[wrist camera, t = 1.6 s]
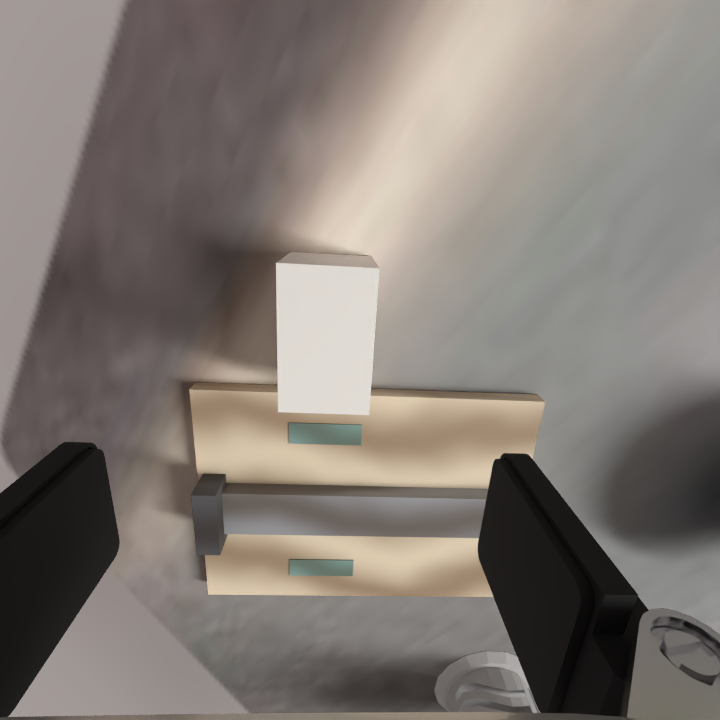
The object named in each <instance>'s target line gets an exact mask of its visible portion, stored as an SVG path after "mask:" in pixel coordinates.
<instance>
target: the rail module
mask: <svg viewBox="0 0 720 720" xmlns="http://www.w3.org/2000/svg"><path fill="white" fill-rule="evenodd" d="M378 282H379V267H378V265H377V264H376V262H375V261H374V259H373V258H372V256H360V255H341V254H322V253H303V252H290V253H289V254H287V255H286V256H285V257H283V258H282V259H281V260H279V261H278V262H276V303H277V375H278V412H286V413H317V414H348V415H369V411H370V396H371V382H372V368H373V353H374V339H375V325H376V311H377V296H378Z"/></svg>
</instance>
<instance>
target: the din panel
mask: <svg viewBox="0 0 720 720" xmlns="http://www.w3.org/2000/svg"><path fill="white" fill-rule="evenodd" d="M189 392H190V403H191V413H192V424H193V435H194V445H195V456H196V467H197V478H198V483H197V485H196V487H195V489H194V491H193V493H192V494H191V501H192V511H193V521H194V531H195V541H196V550H197V555H205V563H206V574H207V585H208V594H210V595H331V596H452V597H494V596H493V594H492V591H491V589H490V586H489V584H488V581H487V579H486V576H485V574H484V571H483V569H482V566H481V564H480V561H479V557H478V540H479V535H480V530H481V525H482V519H483V514H484V509H485V503H486V498H487V493H488V487H489V482H490V477H491V472H492V466H493V462H494V460H495V459H500V457H501V455H502V454H503V453H523V454H528V455H529V456H530V457H531V458H533V454H534V449H535V445H536V441H537V436H538V432H539V428H540V423H541V419H542V414H543V410H544V406H545V401H544V400H543V399H542V398H541V397H540V396H539V395H536V394H508V393H480V392H452V391H424V390H396V389H371V396H370V411H369V415H348V414H317V413H286V412H278V385H256V384H228V383H200V382H195V384H194V385H193V386H192V387H191V388H190V389H189Z"/></svg>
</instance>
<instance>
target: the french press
mask: <svg viewBox="0 0 720 720" xmlns="http://www.w3.org/2000/svg"><path fill="white" fill-rule="evenodd" d="M434 692H435V695H436V698H437V701H438V703H439V704H440V705H441V706H442V707H443V708H444V709H445V710H447V711H448V712H510V713H539V711H538V709H537V706H536V704H535V701H534V699H533V696H532V694H531V690H530V687H529V685H528V682H527V680H526V677H525V675H524V672H523V670H522V667H521V665H520V662H519V660H518V657H517V656H514V655H512V654H509V653H507V652H494V651H484V652H480V653H475V654H471V655H466V656H464V657H462V658H461V659H459V660H457V661H455V662H453V663H451V664H450V665H448V666H447V668H446V669H445V670H444V671H443V672H442V673H441V674H440V675H439V676H438V678H437V682H436V685H435V689H434Z"/></svg>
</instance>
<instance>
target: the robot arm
mask: <svg viewBox="0 0 720 720" xmlns="http://www.w3.org/2000/svg"><path fill="white" fill-rule="evenodd" d="M118 549H119V535H118V529H117V524H116V518H115V513H114V507H113V501H112V496H111V490H110V485H109V479H108V474H107V468H106V462H105V457H104V453H103V451H102V450H100V449H97V447H96V445H95V444H93V443H84V442H64V443H62V444H61V445H59V446H58V447H57V448H56V449H54V450H53V451H52V452H51V453H49V454H48V455H47V456H46V457H44V458H43V459H42V460H41V461H40V462H38V463H37V464H36V465H35V466H33V467H32V468H31V469H30V470H28V471H27V472H26V473H25V474H24V475H22V476H21V477H20V478H19V479H17V480H16V481H15V482H14V483H12V484H11V485H10V486H9V487H8V488H6V489H5V490H4V491H3V492H2V493H0V720H720V635H719V634H718V633H717V632H716V631H714V630H713V629H712V628H710V627H709V626H707V625H705V624H704V623H702V622H700V621H698V620H697V619H695V618H693V617H691V616H688V615H686V614H683V613H681V612H678V611H674V610H669V609H664V608H659V609H651V610H648V609H647V608H646V606H645V605H644V604H643V602H642V601H641V600H640V599H639V597H638V594H637V593H636V592H635V590H634V589H633V588H632V587H631V585H630V584H629V583H628V581H627V580H626V579H625V578H624V576H623V575H622V574H621V572H620V571H619V570H618V569H617V567H616V566H615V565H614V563H613V562H612V561H611V560H610V558H609V557H608V556H607V554H606V553H605V552H604V551H603V549H602V548H601V547H600V545H599V544H598V543H597V542H596V540H595V539H594V538H593V536H592V535H591V534H590V533H589V531H588V530H587V529H586V527H585V526H584V525H583V524H582V522H581V521H580V520H579V518H578V517H577V516H576V515H575V513H574V512H573V511H572V509H571V508H570V507H569V506H568V504H567V503H566V502H565V500H564V499H563V498H562V497H561V495H560V494H559V493H558V491H557V490H556V489H555V488H554V486H553V485H552V484H551V482H550V481H549V480H548V479H547V477H546V476H545V475H544V473H543V472H542V471H541V470H540V468H539V467H538V466H537V464H536V463H535V462H534V461H533V459H532V458H531V457H530V456H529V455H528V454H523V453H503V454H502V455H501V457H500V459H495V460H494V462H493V466H492V472H491V477H490V482H489V487H488V493H487V498H486V503H485V509H484V514H483V519H482V525H481V530H480V535H479V540H478V557H479V561H480V564H481V566H482V569H483V571H484V574H485V576H486V579H487V581H488V584H489V586H490V589H491V591H492V594H493V596H494V599H495V602H496V604H497V607H498V609H499V612H500V614H501V617H502V619H503V622H504V624H505V627H506V629H507V632H508V634H509V637H510V639H511V642H512V644H513V647H514V650H515V652H516V655H517V657H518V660H519V662H520V665H521V667H522V670H523V672H524V675H525V677H526V680H527V682H528V685H529V687H530V690H531V692H532V695H533V698H534V700H535V703H536V705H537V707H538V709H539V711H540V712H541V713H510V712H385V713H256V714H179V715H178V714H174V715H173V714H170V715H103V716H49V717H48V716H47V717H46V716H45V717H8V716H9V715H10V714H11V713H12V711H13V710H14V709H15V707H16V706H17V704H18V703H19V701H20V699H21V698H22V697H23V695H24V694H25V692H26V690H27V689H28V687H29V686H30V685H31V683H32V682H33V680H34V678H35V677H36V675H37V674H38V673H39V671H40V670H41V668H42V667H43V665H44V663H45V662H46V660H47V659H48V658H49V656H50V655H51V653H52V652H53V650H54V649H55V647H56V645H57V644H58V643H59V641H60V640H61V638H62V637H63V635H64V633H65V632H66V631H67V629H68V628H69V626H70V625H71V623H72V622H73V620H74V618H75V617H76V615H77V614H78V612H79V611H80V609H81V608H82V606H83V605H84V603H85V602H86V600H87V599H88V597H89V596H90V594H91V593H92V591H93V590H94V588H95V587H96V585H97V584H98V582H99V581H100V579H101V578H102V576H103V575H104V573H105V572H106V570H107V569H108V567H109V566H110V564H111V563H112V561H113V560H114V558H115V557H116V555H117V552H118Z"/></svg>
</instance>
